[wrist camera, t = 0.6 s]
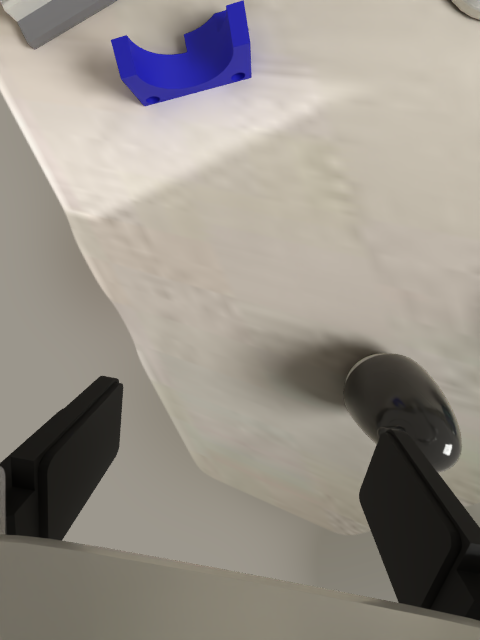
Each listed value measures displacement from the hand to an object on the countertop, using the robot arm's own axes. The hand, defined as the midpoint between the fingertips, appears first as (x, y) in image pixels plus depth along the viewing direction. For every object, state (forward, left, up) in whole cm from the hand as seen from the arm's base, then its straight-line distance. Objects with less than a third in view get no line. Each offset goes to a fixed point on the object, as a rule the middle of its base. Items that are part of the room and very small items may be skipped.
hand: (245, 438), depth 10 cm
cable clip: (-3, -25, -28) cm, 38 cm away
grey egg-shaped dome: (-11, +17, -28) cm, 35 cm away
